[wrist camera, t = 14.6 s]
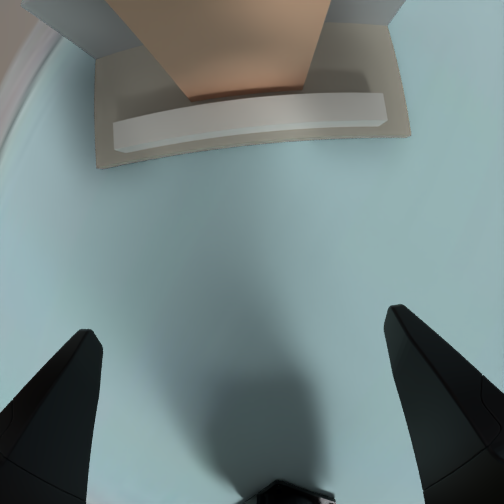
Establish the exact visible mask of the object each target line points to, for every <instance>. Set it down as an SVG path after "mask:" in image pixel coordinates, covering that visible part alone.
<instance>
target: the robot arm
mask: <svg viewBox="0 0 504 504" xmlns="http://www.w3.org/2000/svg"><path fill="white" fill-rule="evenodd" d="M384 334H385V338H386V343H387V348H388V353H389V358H390V363H391V368H392V373H393V377H394V381H395V384H396V388H397V391H398V394H399V398H400V401H401V404H402V408H403V412H404V415H405V419H406V422H407V426H408V430H409V434H410V437H411V441H412V445H413V449H414V453H415V457H416V462H417V466H418V470H419V475H420V479H421V484H422V489H423V494H424V499H425V504H504V393H502V392H501V391H500V390H499V389H498V388H497V387H496V386H495V385H494V384H492V383H491V382H490V381H489V380H488V379H487V378H486V377H485V376H484V375H482V374H481V373H480V372H479V371H478V370H477V369H476V368H475V367H474V366H473V365H472V364H471V363H470V362H468V361H467V360H466V359H465V358H464V357H463V356H462V355H461V354H460V353H459V352H457V351H456V350H455V349H454V348H453V347H452V346H451V345H450V344H448V343H447V342H446V341H445V340H444V339H443V338H442V337H440V336H439V335H438V334H437V333H436V332H435V331H434V330H432V329H431V328H430V327H429V326H428V325H427V324H425V323H424V322H423V321H422V320H421V319H420V318H418V317H417V316H416V315H415V314H414V313H413V312H411V311H410V310H409V309H408V308H407V307H406V306H404V305H402V304H398V305H391V306H390V307H389V308H388V311H387V315H386V319H385V322H384ZM102 358H103V347H102V345H101V343H100V341H99V340H98V338H97V337H96V335H95V334H94V332H93V331H92V330H91V329H80V330H79V331H77V332H76V333H75V334H74V335H73V336H72V337H71V338H70V339H69V340H68V341H67V342H66V343H65V344H64V345H63V346H62V347H61V349H60V350H59V351H58V352H57V353H56V354H55V355H54V356H53V357H52V358H51V359H50V360H49V361H48V362H47V363H46V364H45V365H44V366H43V367H42V368H41V369H40V370H39V371H38V372H37V373H36V375H35V376H34V377H33V378H32V379H31V380H30V381H29V382H28V383H27V384H26V385H25V386H24V387H23V388H22V390H21V391H20V392H19V393H18V394H17V395H16V396H15V397H14V398H13V400H12V401H11V402H10V403H9V404H8V405H7V406H6V407H5V408H4V409H3V410H2V411H1V413H0V504H86V495H87V483H88V472H89V462H90V453H91V445H92V438H93V430H94V423H95V417H96V411H97V405H98V399H99V391H100V380H101V368H102ZM244 504H336V501H335V499H334V498H330V497H327V496H324V495H321V494H318V493H315V492H312V491H309V490H306V489H303V488H300V487H297V486H295V485H292V484H289V483H287V482H284V481H281V480H277V481H274V482H273V483H271V484H270V485H269V486H268V487H266V488H265V489H264V490H262V491H261V492H260V493H258V494H256V495H255V496H254V497H252V498H251V499H249V500H248V501H247V502H245V503H244Z"/></svg>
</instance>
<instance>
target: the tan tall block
mask: <svg viewBox="0 0 504 504" xmlns="http://www.w3.org/2000/svg"><path fill="white" fill-rule="evenodd" d="M105 1H106V2H107V3H108V4H109V6H110V7H111V8H112V9H113V10H114V11H115V12H116V13H117V15H118V16H119V17H120V18H121V19H122V20H123V21H124V23H125V24H126V25H127V26H128V27H129V28H130V29H131V31H132V32H133V33H134V34H135V35H136V36H137V38H138V39H139V40H140V41H141V42H142V43H143V45H144V46H145V47H146V48H147V49H148V50H149V52H150V53H151V54H152V55H153V56H154V58H155V59H156V60H157V61H158V62H159V64H160V65H161V66H162V67H163V68H164V70H165V71H166V72H167V73H168V74H169V76H170V77H171V78H172V79H173V80H174V82H175V83H176V84H177V85H178V87H179V88H180V89H181V90H182V91H183V93H184V94H185V95H186V96H187V98H188V99H189V100H190V101H191V102H195V101H201V100H208V99H214V98H222V97H229V96H237V95H246V94H256V93H267V92H279V91H295V90H302V89H303V86H304V83H305V80H306V77H307V74H308V71H309V68H310V64H311V61H312V58H313V55H314V52H315V49H316V46H317V43H318V39H319V36H320V33H321V30H322V27H323V24H324V21H325V18H326V14H327V11H328V8H329V5H330V2H331V0H105Z"/></svg>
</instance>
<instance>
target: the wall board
mask: <svg viewBox="0 0 504 504" xmlns="http://www.w3.org/2000/svg"><path fill="white" fill-rule="evenodd" d="M405 1H406V0H331V2H330V5H329V8H328V11H327V14H326V18H325V21H324V24H323V27H322V30H321V33H320V36H319V39H318V43H317V46H316V49H315V52H314V55H313V58H312V61H311V64H310V68H309V71H308V74H307V77H306V80H305V83H304V86H303V89H302V90H295V91H279V92H267V93H256V94H246V95H237V96H229V97H222V98H214V99H208V100H201V101H195V102H191V101H190V100H189V99H188V98H187V96H186V95H185V94H184V93H183V91H182V90H181V89H180V88H179V87H178V85H177V84H176V83H175V82H174V80H173V79H172V78H171V77H170V76H169V74H168V73H167V72H166V71H165V70H164V68H163V67H162V66H161V65H160V64H159V62H158V61H157V60H156V59H155V58H154V56H153V55H152V54H151V53H150V52H149V50H148V49H147V48H146V47H145V46H144V45H143V43H142V42H141V41H140V40H139V39H138V38H137V36H136V35H135V34H134V33H133V32H132V31H131V29H130V28H129V27H128V26H127V25H126V24H125V23H124V21H123V20H122V19H121V18H120V17H119V16H118V15H117V13H116V12H115V11H114V10H113V9H112V8H111V7H110V6H109V4H108V3H107V2H106V1H105V0H22V3H21V7H22V8H24V9H25V10H27V11H28V12H30V13H31V14H33V15H34V16H36V17H37V18H39V19H40V20H42V21H43V22H44V23H46V24H47V25H49V26H50V27H52V28H53V29H54V30H56V31H57V32H59V33H60V34H61V35H63V36H64V37H66V38H67V39H68V40H70V41H71V42H73V43H74V44H75V45H77V46H78V47H79V48H81V49H82V50H84V51H85V52H86V53H88V54H89V55H90V56H92V57H93V58H94V59H96V63H95V94H94V119H95V151H96V168H98V169H106V168H111V167H115V166H120V165H125V164H130V163H135V162H140V161H146V160H151V159H157V158H162V157H168V156H174V155H180V154H187V153H193V152H200V151H207V150H214V149H222V148H230V147H239V146H248V145H257V144H267V143H279V142H291V141H305V140H322V139H344V138H407V137H409V136H411V130H410V123H409V117H408V111H407V106H406V101H405V95H404V90H403V86H402V81H401V76H400V72H399V68H398V64H397V59H396V55H395V52H394V48H393V44H392V40H391V37H390V33H389V30H388V24H389V23H390V22H391V20H392V19H393V17H394V16H395V15H396V13H397V12H398V11H399V9H400V8H401V6H402V5H403V4H404V2H405Z"/></svg>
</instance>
